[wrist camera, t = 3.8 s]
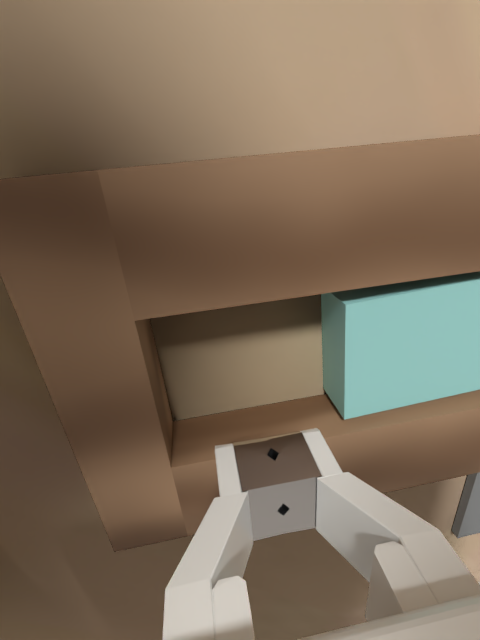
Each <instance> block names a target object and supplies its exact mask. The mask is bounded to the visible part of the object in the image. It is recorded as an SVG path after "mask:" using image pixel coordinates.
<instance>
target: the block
mask: <svg viewBox="0 0 480 640" xmlns="http://www.w3.org/2000/svg"><path fill="white" fill-rule="evenodd" d="M321 313H322V355H323V388H324V390H325V391H326V393H327V394H328V396H329V397H330V399H331V400H332V402H333V403H334V405H335V406H336V408H337V409H338V411H339V413H340V414H341V416H342V417H343V419H344V420H345V419H350V418H354V417H359V416H363V415H368V414H372V413H377V412H381V411H386V410H390V409H395V408H399V407H404V406H408V405H412V404H417V403H421V402H426V401H430V400H435V399H439V398H444V397H448V396H453V395H457V394H462V393H466V392H471V391H475V390H480V271H478V272H471V273H464V274H457V275H450V276H443V277H436V278H429V279H422V280H415V281H408V282H401V283H394V284H387V285H380V286H373V287H366V288H359V289H352V290H345V291H338V292H332V293H325V294H321Z"/></svg>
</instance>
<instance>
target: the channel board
mask: <svg viewBox="0 0 480 640" xmlns="http://www.w3.org/2000/svg"><path fill="white" fill-rule="evenodd" d="M478 271H480V134H479V135H469V136H458V137H447V138H436V139H425V140H415V141H404V142H393V143H382V144H372V145H361V146H350V147H339V148H328V149H318V150H307V151H296V152H285V153H275V154H264V155H253V156H242V157H231V158H221V159H210V160H199V161H188V162H178V163H167V164H156V165H145V166H134V167H124V168H113V169H102V170H91V171H81V172H70V173H59V174H48V175H37V176H27V177H16V178H5V179H0V275H1V277H2V280H3V282H4V285H5V287H6V290H7V292H8V294H9V297H10V299H11V302H12V304H13V307H14V309H15V311H16V314H17V316H18V319H19V321H20V324H21V326H22V328H23V331H24V333H25V336H26V338H27V341H28V343H29V345H30V348H31V350H32V353H33V355H34V358H35V360H36V362H37V365H38V367H39V370H40V372H41V375H42V377H43V379H44V382H45V384H46V387H47V389H48V392H49V394H50V396H51V399H52V401H53V404H54V406H55V409H56V411H57V413H58V416H59V418H60V421H61V423H62V426H63V428H64V430H65V433H66V435H67V438H68V440H69V443H70V445H71V447H72V450H73V452H74V455H75V457H76V460H77V462H78V465H79V467H80V469H81V472H82V474H83V477H84V479H85V482H86V484H87V486H88V489H89V491H90V494H91V496H92V499H93V501H94V503H95V506H96V508H97V511H98V513H99V516H100V518H101V520H102V523H103V525H104V528H105V530H106V533H107V535H108V537H109V540H110V542H111V545H112V547H113V550H114V552H116V551H121V550H126V549H130V548H135V547H139V546H144V545H149V544H153V543H158V542H162V541H167V540H171V539H176V538H181V537H185V536H190V535H194V534H195V533H196V531H197V529H198V527H199V525H200V524H201V522H202V520H203V518H204V516H205V514H206V512H207V510H208V509H209V507H210V505H211V503H212V501H213V499H214V498H216V497H220V494H219V485H218V476H217V467H216V458H215V446H217V445H224V444H231V443H232V444H233V443H234V442H241V441H248V440H254V439H261V438H266V437H271V436H277V435H282V434H288V433H293V432H298V431H299V432H300V431H303V430H308V429H314V428H317V429H319V430H320V432H321V434H322V436H323V437H324V439H325V441H326V443H327V445H328V446H329V448H330V450H331V452H332V454H333V456H334V457H335V459H336V461H337V463H338V465H339V466H340V468H341V470H342V472H343V473H344V472H349V473H351V474H352V475H354V476H356V477H357V478H359V479H360V480H362V481H363V482H365V483H367V484H368V485H370V486H371V487H373V488H375V489H376V490H378V491H379V492H381V493H387V492H391V491H396V490H401V489H405V488H410V487H414V486H419V485H424V484H428V483H433V482H437V481H442V480H446V479H451V478H456V477H460V476H465V475H469V474H474V473H479V472H480V390H475V391H471V392H466V393H462V394H457V395H453V396H448V397H444V398H439V399H435V400H430V401H426V402H421V403H417V404H412V405H408V406H404V407H399V408H395V409H390V410H386V411H381V412H377V413H372V414H368V415H363V416H359V417H354V418H350V419H345V420H344V419H343V417H342V416H341V414H340V413H339V411H338V409H337V408H336V406H335V405H334V403H333V402H332V400H331V399H330V397H329V396H328V394H324V395H318V396H313V397H307V398H301V399H296V400H290V401H285V402H279V403H273V404H268V405H262V406H257V407H251V408H245V409H240V410H234V411H229V412H223V413H218V414H212V415H206V416H201V417H195V418H190V419H184V420H178V421H173V420H172V416H171V411H170V407H169V403H168V398H167V394H166V389H165V385H164V380H163V376H162V371H161V367H160V363H159V358H158V354H157V349H156V345H155V340H154V336H153V332H152V327H151V323H150V318H157V317H164V316H171V315H178V314H185V313H192V312H199V311H206V310H213V309H220V308H227V307H234V306H241V305H248V304H255V303H262V302H269V301H276V300H283V299H290V298H297V297H304V296H311V295H318V294H325V293H332V292H338V291H345V290H352V289H359V288H366V287H373V286H380V285H387V284H394V283H401V282H408V281H415V280H422V279H429V278H436V277H443V276H450V275H457V274H464V273H471V272H478Z"/></svg>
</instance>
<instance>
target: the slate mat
mask: <svg viewBox="0 0 480 640" xmlns="http://www.w3.org/2000/svg"><path fill="white" fill-rule="evenodd" d="M452 532H453V533H454V534H455V536H456V537H457V538H460V537H464V536H468V535H472V534H476V533H480V472H479V473H474V474H469V475H468V476H467V479H466V483H465V486H464V490H463V493H462V496H461V500H460V503H459V507H458V510H457V514H456V517H455V520H454V524H453V527H452Z"/></svg>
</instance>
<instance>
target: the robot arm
mask: <svg viewBox="0 0 480 640" xmlns="http://www.w3.org/2000/svg"><path fill="white" fill-rule="evenodd" d="M215 458H216V467H217V476H218V485H219V494H220V497H216V498H214V499H213V501H212V503H211V505H210V507H209V509H208V510H207V512H206V514H205V516H204V518H203V520H202V522H201V524H200V525H199V527H198V529H197V531H196V533H195V535H194V537H193V538H192V540H191V542H190V544H189V546H188V548H187V550H186V552H185V553H184V555H183V557H182V559H181V561H180V563H179V565H178V566H177V568H176V570H175V572H174V574H173V576H172V578H171V580H170V581H169V583H168V585H167V587H166V589H165V603H164V622H163V640H255V635H254V628H253V622H252V616H251V610H250V604H249V598H248V591H247V585H246V581H245V580H244V579H242V578H243V575H244V572H245V569H246V565H247V562H248V559H249V556H250V553H251V549H252V546H253V541H256V540H260V539H264V538H268V537H272V536H276V535H280V534H285V533H290V532H296V531H301V530H307V529H312V528H316V530H317V531H318V532H319V533H320V534H321V535H322V536H323V537H324V538H325V539H326V540H327V541H328V542H329V543H330V544H331V545H332V546H333V547H334V548H335V549H336V550H337V551H338V552H339V553H340V554H341V555H342V556H343V557H344V558H345V559H346V560H347V561H348V562H349V563H350V564H351V565H352V566H353V567H354V568H355V569H356V570H357V571H358V572H359V573H360V574H361V575H362V576H363V577H364V578H365V579H366V580H367V581H368V582H369V583H370V584H369V591H368V598H367V605H366V612H365V618H366V620H367V622H364V623H360V624H356V625H352V626H348V627H344V628H340V629H336V630H332V631H328V632H324V633H320V634H316V635H312V636H308V637H304V638H300V639H296V640H480V585H479V583H478V582H477V581H476V579H475V578H474V577H473V575H472V574H471V572H470V571H469V570H468V568H467V567H466V566H465V564H464V563H463V562H462V560H461V559H460V557H459V556H458V555H457V553H456V552H455V551H454V549H453V548H452V546H451V545H450V544H449V542H448V541H447V540H446V538H445V537H444V536H443V534H442V533H441V531H440V530H439V529H437V528H436V527H434V526H433V525H431V524H430V523H428V522H426V521H425V520H423V519H422V518H420V517H419V516H417V515H415V514H414V513H412V512H411V511H409V510H408V509H406V508H404V507H403V506H401V505H400V504H398V503H397V502H395V501H393V500H392V499H390V498H389V497H387V496H386V495H384V494H382V493H381V492H379V491H378V490H376V489H375V488H373V487H371V486H370V485H368V484H367V483H365V482H363V481H362V480H360V479H359V478H357V477H356V476H354V475H352V474H351V473H349V472H344V473H343V472H342V470H341V468H340V466H339V465H338V463H337V461H336V459H335V457H334V456H333V454H332V452H331V450H330V448H329V446H328V445H327V443H326V441H325V439H324V437H323V436H322V434H321V432H320V430H319V429H317V428H314V429H308V430H303V431H300V432H299V431H298V432H293V433H288V434H282V435H277V436H271V437H266V438H261V439H254V440H248V441H241V442H234V443H233V444H232V443H231V444H224V445H217V446H215Z"/></svg>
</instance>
